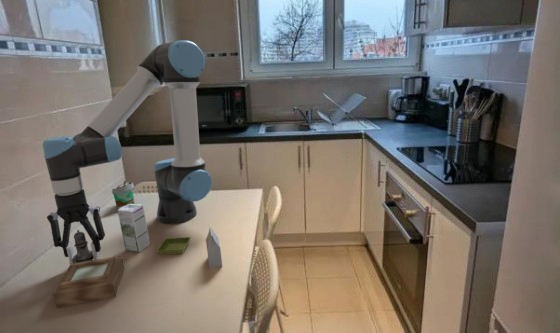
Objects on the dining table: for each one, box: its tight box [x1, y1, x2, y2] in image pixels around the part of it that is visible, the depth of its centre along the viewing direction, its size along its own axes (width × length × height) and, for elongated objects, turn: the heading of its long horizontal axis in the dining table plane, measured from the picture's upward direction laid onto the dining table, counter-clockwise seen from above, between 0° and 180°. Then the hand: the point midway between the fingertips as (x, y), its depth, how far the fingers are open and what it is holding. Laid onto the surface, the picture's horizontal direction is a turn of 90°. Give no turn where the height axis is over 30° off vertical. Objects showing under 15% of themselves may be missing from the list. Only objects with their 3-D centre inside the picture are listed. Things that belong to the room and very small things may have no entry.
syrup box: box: [117, 203, 151, 253], centre depth 116 cm, size 6×6×14 cm
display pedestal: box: [52, 256, 126, 309], centre depth 97 cm, size 14×14×5 cm
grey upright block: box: [205, 227, 223, 269], centre depth 105 cm, size 4×7×10 cm, turn 14°
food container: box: [111, 180, 135, 211], centre depth 155 cm, size 12×6×10 cm, turn 179°
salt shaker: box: [73, 229, 94, 263], centre depth 107 cm, size 6×6×12 cm
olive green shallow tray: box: [156, 236, 192, 255], centre depth 116 cm, size 9×9×2 cm
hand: (85, 263), depth 108 cm, fingers closed on salt shaker, 6 cm apart
